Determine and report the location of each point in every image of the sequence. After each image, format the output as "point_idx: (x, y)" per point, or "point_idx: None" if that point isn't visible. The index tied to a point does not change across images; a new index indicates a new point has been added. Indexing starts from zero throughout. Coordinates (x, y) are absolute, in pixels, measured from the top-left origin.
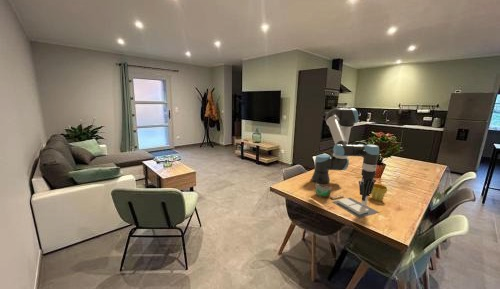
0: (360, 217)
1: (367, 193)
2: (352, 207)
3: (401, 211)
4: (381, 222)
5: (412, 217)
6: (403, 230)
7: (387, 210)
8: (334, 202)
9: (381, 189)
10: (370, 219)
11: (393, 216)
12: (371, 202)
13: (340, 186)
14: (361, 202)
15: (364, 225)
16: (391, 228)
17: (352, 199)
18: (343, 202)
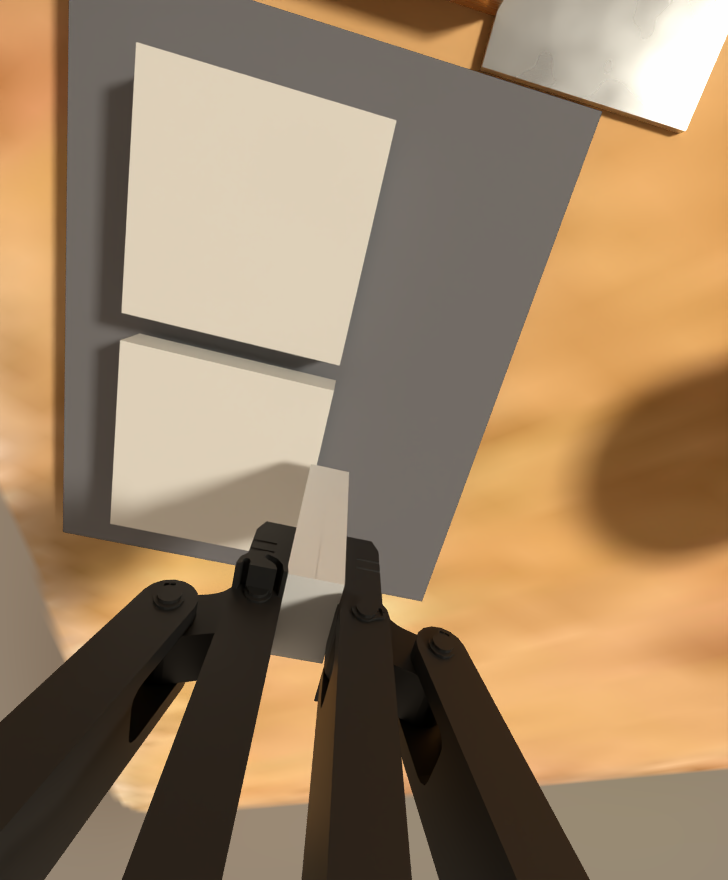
0: (96, 531)
1: (319, 704)
2: (137, 400)
3: (673, 679)
4: None
5: (605, 754)
6: (295, 771)
7: (590, 602)
8: (113, 11)
9: None
10: (217, 577)
11: (489, 671)
12: (700, 412)
13: None
14: (308, 479)
15: (43, 589)
16: None
17: (542, 190)
18: (153, 197)
